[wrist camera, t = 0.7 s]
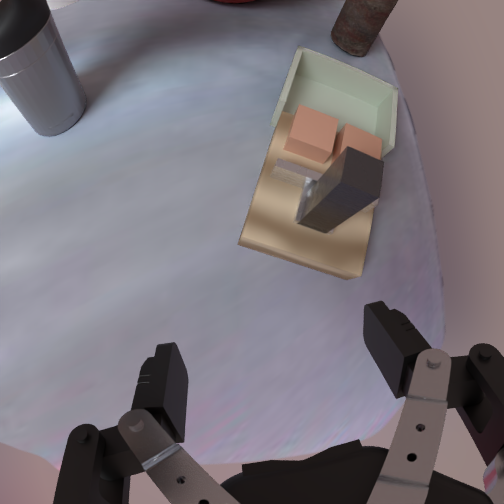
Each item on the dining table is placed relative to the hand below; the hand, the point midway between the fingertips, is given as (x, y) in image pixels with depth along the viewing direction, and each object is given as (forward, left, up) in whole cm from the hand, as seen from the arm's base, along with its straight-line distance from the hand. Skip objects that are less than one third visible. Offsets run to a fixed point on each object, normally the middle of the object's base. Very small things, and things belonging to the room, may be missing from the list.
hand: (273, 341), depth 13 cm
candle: (-28, +42, -24) cm, 56 cm away
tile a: (-13, +19, -20) cm, 30 cm away
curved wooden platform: (-7, +17, -24) cm, 30 cm away
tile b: (-8, +23, -20) cm, 31 cm away
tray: (-16, +27, -24) cm, 40 cm away
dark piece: (-5, +14, -20) cm, 25 cm away
